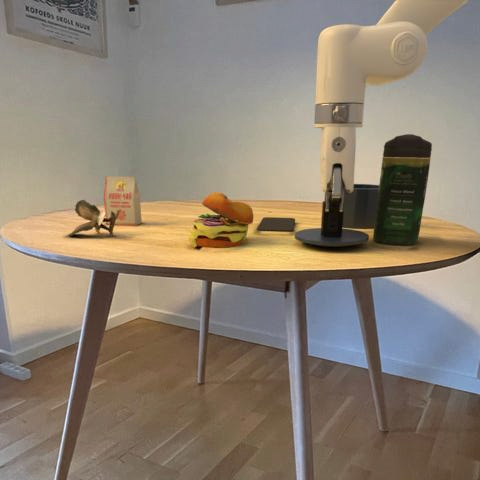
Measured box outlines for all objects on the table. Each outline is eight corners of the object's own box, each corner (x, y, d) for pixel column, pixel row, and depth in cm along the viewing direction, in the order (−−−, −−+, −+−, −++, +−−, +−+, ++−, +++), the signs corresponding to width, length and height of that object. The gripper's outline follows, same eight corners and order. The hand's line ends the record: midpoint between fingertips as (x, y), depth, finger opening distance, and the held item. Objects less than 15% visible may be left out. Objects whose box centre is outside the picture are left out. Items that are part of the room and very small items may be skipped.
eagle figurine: (121, 225, 95) (77, 216, 95) (118, 197, 90) (72, 188, 89) (110, 251, 91) (64, 242, 90) (107, 224, 85) (57, 215, 85)
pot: (379, 223, 106) (383, 184, 103) (387, 232, 96) (392, 189, 93) (327, 221, 108) (330, 183, 105) (330, 230, 97) (333, 188, 94)
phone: (255, 229, 93) (263, 217, 107) (255, 233, 94) (263, 220, 107) (293, 230, 92) (295, 217, 106) (292, 234, 93) (295, 221, 106)
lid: (363, 234, 86) (367, 197, 83) (373, 250, 74) (377, 207, 72) (295, 233, 87) (296, 197, 85) (293, 248, 76) (294, 206, 73)
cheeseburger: (178, 241, 85) (189, 185, 83) (230, 250, 90) (242, 198, 88) (197, 251, 77) (209, 190, 74) (254, 261, 82) (267, 203, 79)
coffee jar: (417, 250, 80) (434, 133, 73) (370, 246, 82) (382, 133, 76) (418, 240, 88) (434, 134, 82) (375, 236, 91) (387, 134, 84)
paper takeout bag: (113, 221, 106) (109, 175, 103) (141, 222, 105) (138, 176, 102) (106, 224, 103) (101, 177, 99) (135, 225, 102) (131, 177, 98)
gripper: (369, 115, 66) (358, 244, 72) (357, 119, 81) (349, 225, 88) (315, 115, 66) (309, 243, 73) (313, 120, 82) (309, 225, 88)
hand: (331, 232), depth 80 cm, fingers closed on lid, 3 cm apart
